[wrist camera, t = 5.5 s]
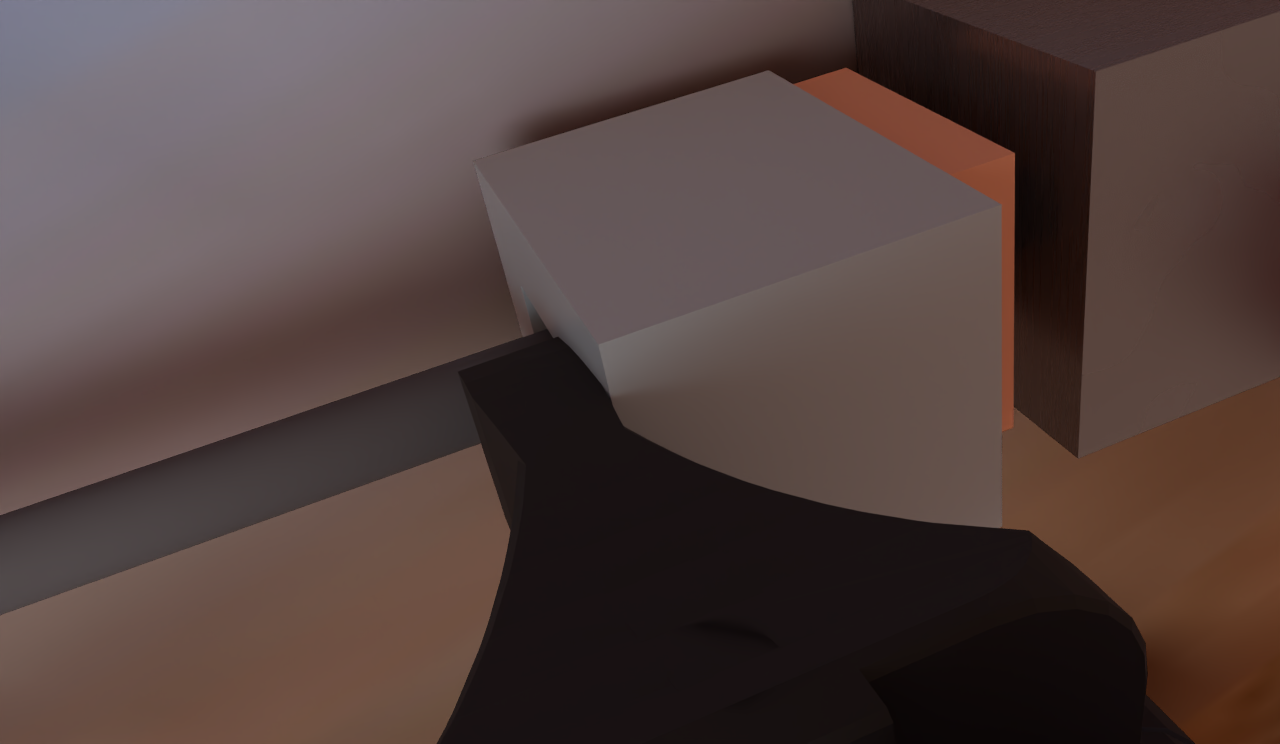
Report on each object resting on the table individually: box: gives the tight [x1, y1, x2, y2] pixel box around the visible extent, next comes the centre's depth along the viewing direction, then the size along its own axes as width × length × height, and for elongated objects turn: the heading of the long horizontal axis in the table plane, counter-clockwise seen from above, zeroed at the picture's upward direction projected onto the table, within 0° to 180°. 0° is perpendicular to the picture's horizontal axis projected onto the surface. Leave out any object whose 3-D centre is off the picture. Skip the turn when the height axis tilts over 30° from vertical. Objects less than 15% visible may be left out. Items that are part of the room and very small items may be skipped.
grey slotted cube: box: [473, 70, 1002, 528], centre depth 13 cm, size 4×4×5 cm
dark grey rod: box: [0, 68, 1015, 615], centre depth 12 cm, size 21×4×4 cm, turn 100°
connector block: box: [853, 0, 1280, 458], centre depth 15 cm, size 3×5×5 cm, turn 10°
